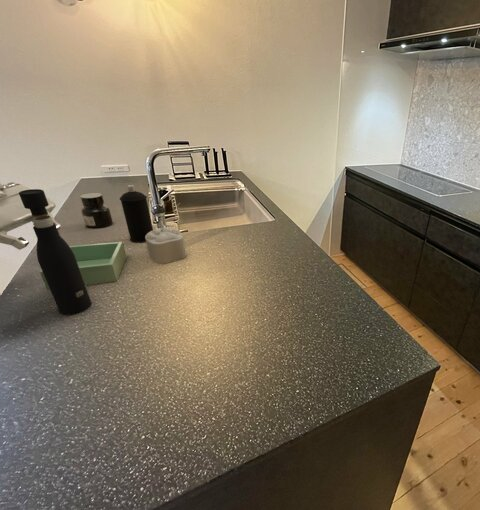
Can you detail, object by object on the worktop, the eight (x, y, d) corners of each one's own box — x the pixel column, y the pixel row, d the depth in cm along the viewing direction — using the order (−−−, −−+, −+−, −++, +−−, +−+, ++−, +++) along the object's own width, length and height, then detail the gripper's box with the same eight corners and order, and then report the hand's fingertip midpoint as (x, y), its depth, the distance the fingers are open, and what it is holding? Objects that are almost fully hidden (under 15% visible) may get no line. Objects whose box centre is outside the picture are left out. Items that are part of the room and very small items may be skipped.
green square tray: (47, 289, 83) (39, 272, 80) (66, 262, 96) (60, 246, 93) (117, 281, 89) (112, 264, 87) (126, 256, 102) (122, 241, 100)
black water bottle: (64, 301, 79) (19, 187, 66) (94, 298, 81) (56, 187, 68) (54, 317, 74) (2, 196, 60) (87, 312, 76) (43, 195, 63)
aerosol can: (153, 241, 113) (142, 188, 104) (127, 243, 110) (113, 189, 101) (156, 233, 120) (146, 182, 111) (132, 234, 117) (119, 183, 108)
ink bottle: (84, 222, 124) (75, 193, 118) (110, 218, 129) (102, 191, 124) (87, 230, 117) (78, 200, 112) (115, 226, 123) (107, 197, 118)
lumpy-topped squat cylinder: (156, 265, 98) (150, 241, 95) (144, 251, 107) (139, 227, 103) (189, 257, 105) (185, 233, 101) (176, 243, 113) (172, 222, 109)
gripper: (11, 189, 73) (68, 228, 79) (-89, 219, 55) (-6, 267, 61) (23, 172, 72) (81, 213, 77) (-75, 196, 54) (9, 248, 59)
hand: (42, 237), depth 69 cm, fingers open, 8 cm apart
